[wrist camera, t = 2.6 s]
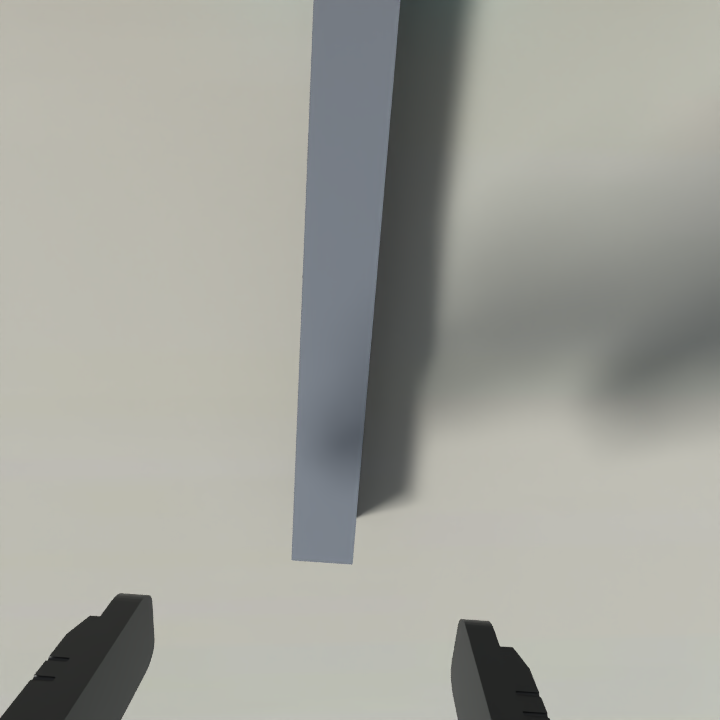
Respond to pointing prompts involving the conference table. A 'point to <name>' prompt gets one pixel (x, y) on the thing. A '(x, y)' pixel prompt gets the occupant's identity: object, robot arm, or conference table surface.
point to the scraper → (340, 264)
